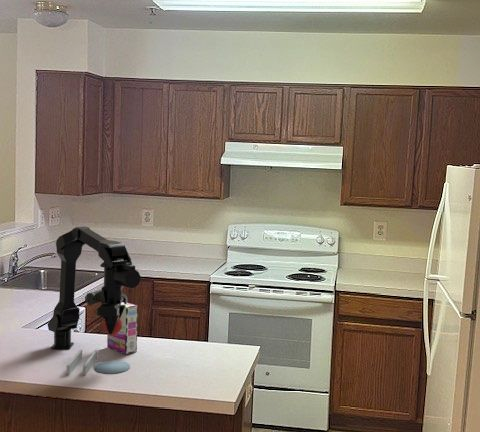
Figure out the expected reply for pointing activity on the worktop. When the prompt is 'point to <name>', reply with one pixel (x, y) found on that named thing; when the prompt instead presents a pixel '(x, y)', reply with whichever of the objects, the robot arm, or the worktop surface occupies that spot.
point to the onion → (116, 329)
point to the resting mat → (112, 367)
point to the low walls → (78, 358)
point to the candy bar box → (126, 331)
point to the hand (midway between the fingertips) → (112, 331)
